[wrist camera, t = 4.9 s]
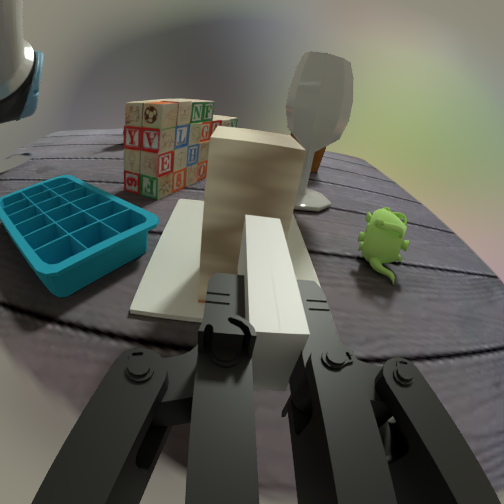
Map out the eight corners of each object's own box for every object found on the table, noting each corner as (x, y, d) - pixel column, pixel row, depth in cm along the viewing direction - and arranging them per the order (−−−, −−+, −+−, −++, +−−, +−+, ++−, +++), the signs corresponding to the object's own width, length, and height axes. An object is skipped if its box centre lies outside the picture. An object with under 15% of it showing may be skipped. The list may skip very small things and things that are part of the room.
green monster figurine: (393, 286, 26) (416, 234, 23) (345, 264, 28) (363, 211, 25) (401, 261, 30) (419, 217, 27) (360, 243, 32) (375, 198, 29)
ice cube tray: (68, 194, 33) (67, 173, 31) (166, 249, 25) (165, 219, 24) (-5, 224, 24) (-10, 201, 22) (55, 313, 16) (43, 279, 15)
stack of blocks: (203, 160, 53) (210, 98, 47) (232, 167, 52) (241, 101, 45) (123, 191, 36) (125, 100, 29) (157, 201, 34) (162, 101, 28)
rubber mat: (130, 313, 18) (129, 309, 18) (179, 201, 35) (179, 198, 34) (332, 330, 19) (334, 326, 19) (291, 214, 36) (292, 211, 36)
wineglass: (340, 211, 40) (373, 69, 29) (293, 215, 36) (326, 48, 25) (303, 188, 46) (328, 64, 35) (257, 190, 42) (281, 49, 31)
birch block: (197, 302, 20) (210, 137, 14) (204, 262, 24) (217, 125, 18) (269, 309, 20) (306, 150, 14) (264, 268, 24) (290, 135, 19)
